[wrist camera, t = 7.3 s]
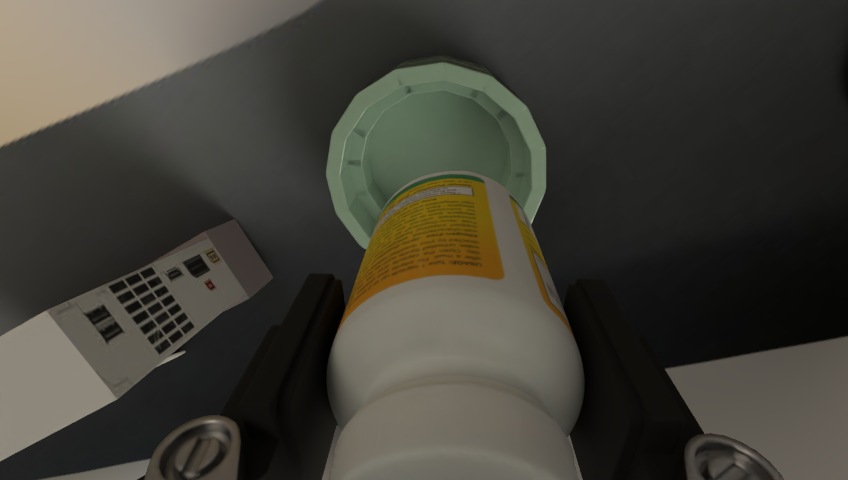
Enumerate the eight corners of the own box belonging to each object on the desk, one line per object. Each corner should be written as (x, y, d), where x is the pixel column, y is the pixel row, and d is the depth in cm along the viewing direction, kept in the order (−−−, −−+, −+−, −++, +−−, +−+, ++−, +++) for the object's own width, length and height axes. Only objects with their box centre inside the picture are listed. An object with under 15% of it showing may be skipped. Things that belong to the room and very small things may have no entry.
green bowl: (310, 121, 26) (282, 141, 21) (477, 13, 22) (484, 11, 18) (407, 260, 30) (400, 302, 26) (558, 187, 27) (579, 220, 23)
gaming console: (123, 382, 38) (-238, 654, 19) (70, 316, 36) (-378, 540, 18) (326, 284, 31) (80, 550, 13) (272, 198, 30) (-99, 355, 11)
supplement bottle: (560, 215, 14) (735, 517, 5) (473, 320, 16) (502, 648, 8) (422, 134, 13) (375, 355, 4) (350, 259, 15) (229, 562, 7)
